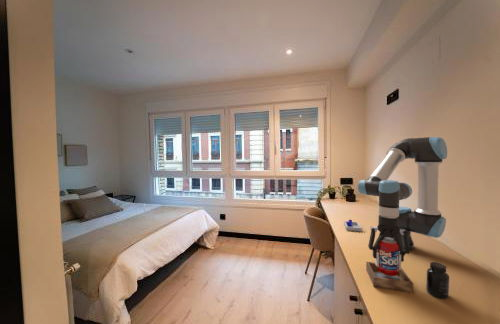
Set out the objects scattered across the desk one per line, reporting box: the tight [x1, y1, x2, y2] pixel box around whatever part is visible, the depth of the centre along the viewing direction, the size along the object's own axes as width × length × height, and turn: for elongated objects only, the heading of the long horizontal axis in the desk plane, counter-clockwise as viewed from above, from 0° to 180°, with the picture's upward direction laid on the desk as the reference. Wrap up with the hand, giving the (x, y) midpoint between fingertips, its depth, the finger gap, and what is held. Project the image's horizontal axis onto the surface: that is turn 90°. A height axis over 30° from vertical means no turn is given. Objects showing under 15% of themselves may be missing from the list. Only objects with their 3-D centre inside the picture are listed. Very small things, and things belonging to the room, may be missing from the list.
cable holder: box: [347, 219, 353, 227], centre depth 163 cm, size 8×4×4 cm, turn 144°
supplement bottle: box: [425, 261, 450, 300], centre depth 85 cm, size 7×7×12 cm
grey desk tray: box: [343, 220, 363, 233], centre depth 161 cm, size 10×14×3 cm
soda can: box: [377, 237, 399, 276], centre depth 95 cm, size 8×8×15 cm
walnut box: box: [365, 261, 414, 294], centre depth 95 cm, size 14×14×4 cm
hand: (387, 266), depth 95 cm, fingers closed on soda can, 8 cm apart
